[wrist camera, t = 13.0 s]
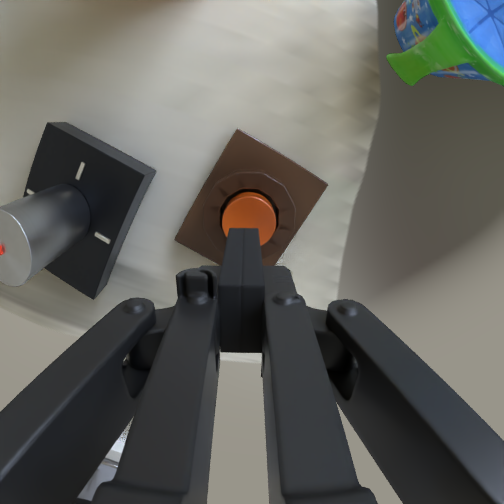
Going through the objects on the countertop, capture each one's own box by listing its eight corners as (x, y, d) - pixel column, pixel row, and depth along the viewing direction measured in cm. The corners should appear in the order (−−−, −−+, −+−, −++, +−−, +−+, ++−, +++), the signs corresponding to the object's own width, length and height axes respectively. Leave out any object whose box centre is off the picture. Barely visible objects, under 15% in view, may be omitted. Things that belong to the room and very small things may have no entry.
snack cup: (441, -25, 16) (498, -60, 6) (498, 62, 19) (568, 55, 9) (327, 22, 19) (369, -34, 10) (401, 126, 22) (477, 129, 13)
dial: (87, 181, 21) (19, 207, 13) (94, 244, 23) (36, 292, 15) (39, 186, 21) (-30, 213, 13) (47, 243, 23) (-13, 286, 15)
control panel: (106, 284, 27) (92, 301, 24) (29, 235, 25) (11, 245, 22) (156, 170, 24) (144, 175, 21) (66, 121, 22) (45, 122, 19)
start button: (257, 249, 23) (258, 258, 22) (215, 225, 23) (212, 232, 21) (284, 208, 22) (286, 214, 20) (240, 182, 21) (239, 186, 20)
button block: (259, 280, 27) (260, 297, 24) (177, 235, 26) (168, 247, 23) (325, 182, 24) (334, 188, 21) (238, 128, 23) (236, 127, 20)
